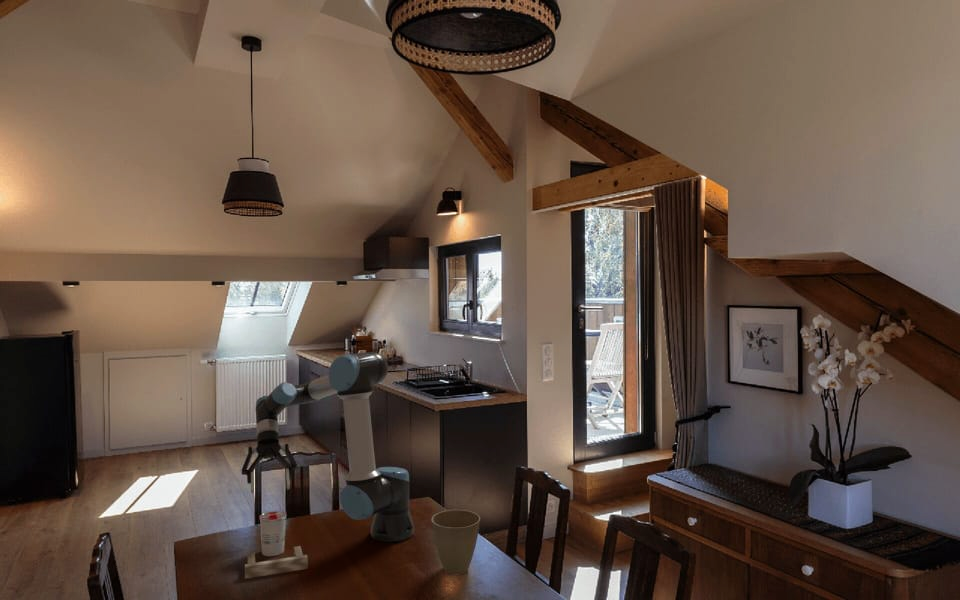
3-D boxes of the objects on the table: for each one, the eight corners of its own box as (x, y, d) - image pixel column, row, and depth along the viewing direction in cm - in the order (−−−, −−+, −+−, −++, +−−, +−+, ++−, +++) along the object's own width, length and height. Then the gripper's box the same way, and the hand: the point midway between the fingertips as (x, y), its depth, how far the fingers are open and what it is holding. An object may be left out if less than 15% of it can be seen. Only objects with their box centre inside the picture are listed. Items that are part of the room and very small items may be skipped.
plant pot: (425, 564, 193) (425, 513, 193) (469, 556, 199) (469, 507, 199) (441, 585, 179) (441, 530, 179) (487, 575, 185) (487, 523, 185)
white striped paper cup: (292, 547, 206) (292, 511, 206) (282, 558, 197) (282, 520, 197) (264, 546, 207) (264, 510, 207) (252, 556, 198) (252, 519, 198)
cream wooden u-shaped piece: (303, 554, 200) (303, 543, 200) (307, 568, 190) (307, 557, 190) (244, 563, 193) (244, 552, 193) (245, 578, 183) (245, 567, 183)
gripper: (300, 437, 233) (304, 490, 219) (233, 443, 224) (233, 498, 210) (301, 426, 228) (306, 479, 214) (233, 431, 219) (234, 487, 205)
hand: (270, 489), depth 212 cm, fingers open, 11 cm apart
